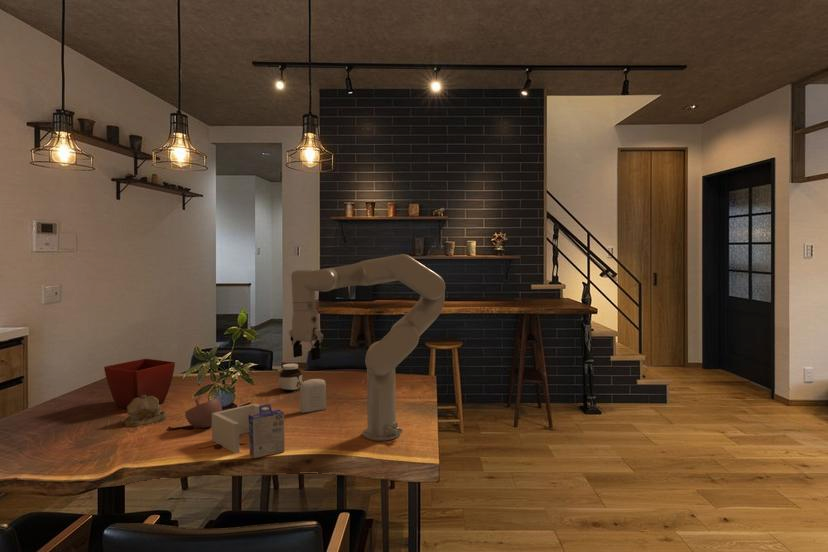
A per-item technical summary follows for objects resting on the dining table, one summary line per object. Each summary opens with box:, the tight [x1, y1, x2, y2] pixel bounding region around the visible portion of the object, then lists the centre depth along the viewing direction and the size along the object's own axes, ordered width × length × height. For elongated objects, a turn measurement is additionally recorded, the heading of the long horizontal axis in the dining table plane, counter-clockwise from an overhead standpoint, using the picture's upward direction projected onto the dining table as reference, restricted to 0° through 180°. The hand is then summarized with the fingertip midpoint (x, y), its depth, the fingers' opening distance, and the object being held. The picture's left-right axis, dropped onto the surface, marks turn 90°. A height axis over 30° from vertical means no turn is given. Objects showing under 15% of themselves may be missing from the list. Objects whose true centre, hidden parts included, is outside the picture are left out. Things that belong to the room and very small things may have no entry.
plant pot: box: [103, 358, 176, 409], centre depth 205 cm, size 19×19×17 cm
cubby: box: [211, 403, 269, 454], centre depth 164 cm, size 16×16×9 cm
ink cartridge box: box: [248, 403, 286, 459], centre depth 153 cm, size 10×6×14 cm, turn 124°
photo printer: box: [299, 378, 327, 414], centre depth 196 cm, size 10×4×12 cm, turn 123°
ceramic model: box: [122, 395, 167, 427], centre depth 184 cm, size 14×11×10 cm
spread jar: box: [278, 363, 303, 393], centre depth 228 cm, size 12×11×12 cm
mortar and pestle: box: [184, 394, 223, 429], centre depth 177 cm, size 12×12×12 cm
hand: (306, 358), depth 167 cm, fingers open, 9 cm apart
